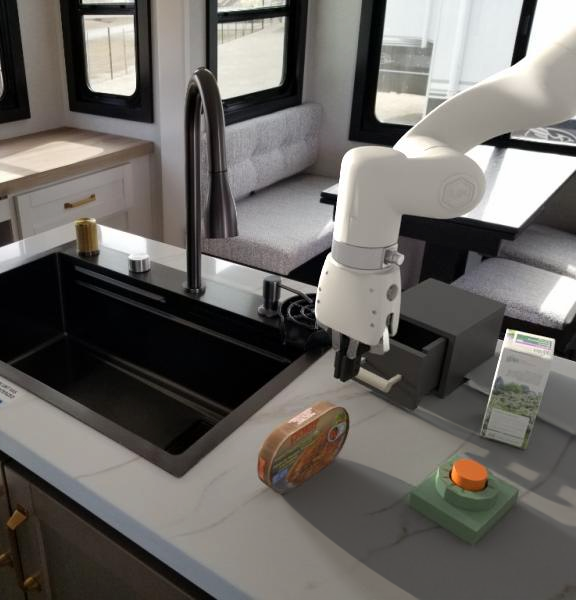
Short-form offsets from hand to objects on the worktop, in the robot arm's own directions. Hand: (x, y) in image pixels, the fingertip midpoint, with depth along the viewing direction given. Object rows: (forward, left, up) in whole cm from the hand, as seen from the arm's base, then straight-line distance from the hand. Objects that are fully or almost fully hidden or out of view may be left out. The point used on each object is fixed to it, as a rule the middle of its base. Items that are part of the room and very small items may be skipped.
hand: (345, 376), depth 86 cm
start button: (+2, +19, -4) cm, 20 cm away
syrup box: (-15, +16, -8) cm, 23 cm away
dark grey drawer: (-13, 0, -7) cm, 15 cm away
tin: (+12, +3, -8) cm, 15 cm away
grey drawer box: (-23, 0, -8) cm, 24 cm away
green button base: (+2, +19, -8) cm, 21 cm away
